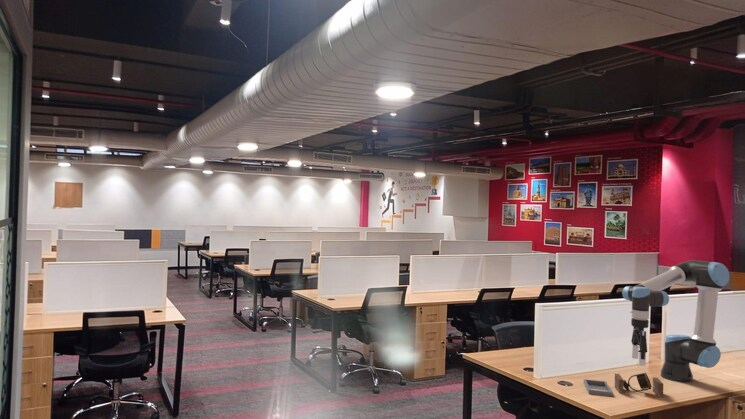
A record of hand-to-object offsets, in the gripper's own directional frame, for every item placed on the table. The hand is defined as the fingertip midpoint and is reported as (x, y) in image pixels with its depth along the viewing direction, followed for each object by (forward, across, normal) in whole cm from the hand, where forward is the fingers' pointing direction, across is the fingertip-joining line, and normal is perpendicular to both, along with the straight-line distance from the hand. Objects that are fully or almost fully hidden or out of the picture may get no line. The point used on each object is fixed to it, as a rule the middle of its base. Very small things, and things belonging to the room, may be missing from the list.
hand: (638, 362), depth 252 cm
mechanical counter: (+15, 0, 0) cm, 15 cm away
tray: (+15, +3, -19) cm, 24 cm away
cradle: (+15, 0, 0) cm, 15 cm away
